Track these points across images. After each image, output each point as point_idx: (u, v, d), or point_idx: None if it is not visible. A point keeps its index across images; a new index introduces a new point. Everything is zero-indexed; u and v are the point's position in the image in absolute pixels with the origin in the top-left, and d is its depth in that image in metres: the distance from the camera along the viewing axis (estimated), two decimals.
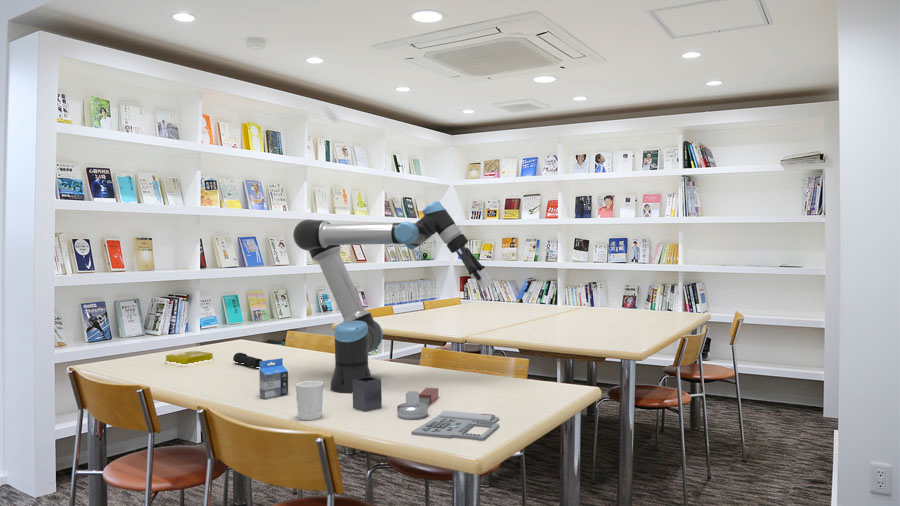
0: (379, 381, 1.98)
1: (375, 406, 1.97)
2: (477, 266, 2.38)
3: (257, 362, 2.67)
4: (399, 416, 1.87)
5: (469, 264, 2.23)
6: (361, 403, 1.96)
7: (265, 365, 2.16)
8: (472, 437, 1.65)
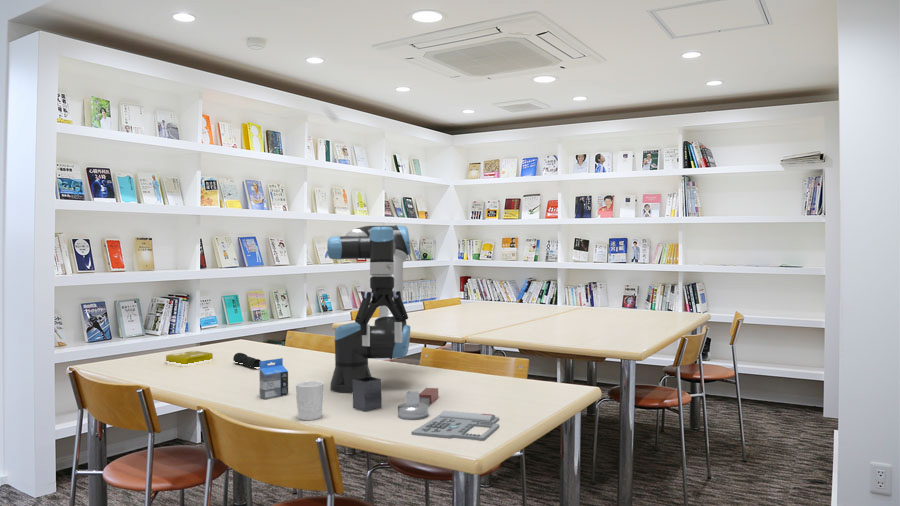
0: (379, 381, 1.98)
1: (375, 406, 1.97)
2: (396, 316, 2.04)
3: (255, 362, 2.66)
4: (399, 416, 1.87)
5: (360, 314, 1.92)
6: (361, 403, 1.96)
7: (265, 365, 2.16)
8: (472, 437, 1.65)
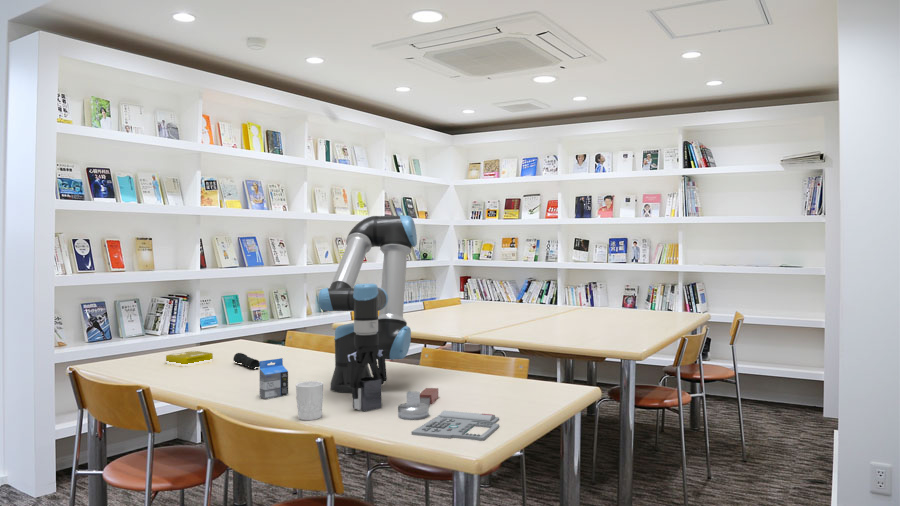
0: (379, 381, 1.98)
1: (375, 406, 1.97)
2: (375, 376, 2.01)
3: (253, 363, 2.65)
4: (400, 416, 1.87)
5: (349, 379, 1.94)
6: (361, 403, 1.96)
7: (265, 365, 2.16)
8: (472, 437, 1.65)
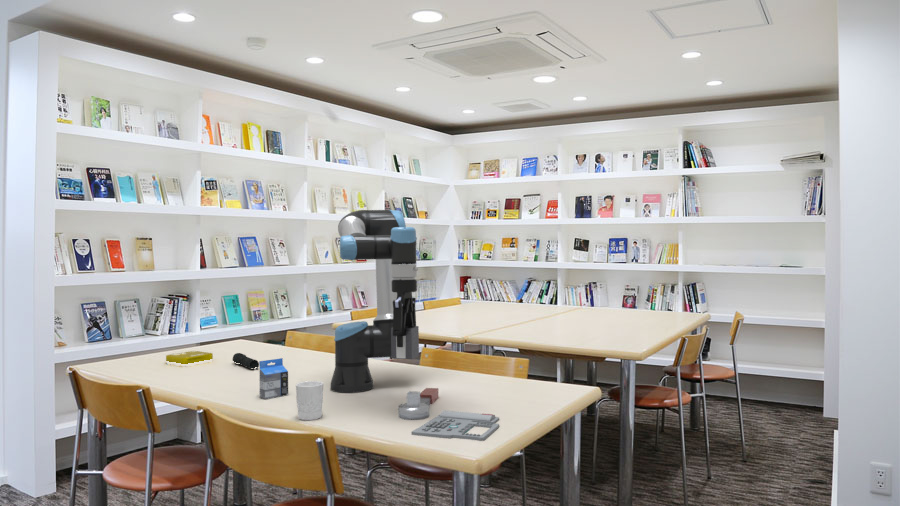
0: (417, 328, 1.91)
1: (416, 353, 1.90)
2: (409, 324, 1.93)
3: (252, 363, 2.65)
4: (400, 416, 1.86)
5: (398, 326, 1.83)
6: (406, 351, 1.86)
7: (265, 365, 2.16)
8: (472, 437, 1.65)
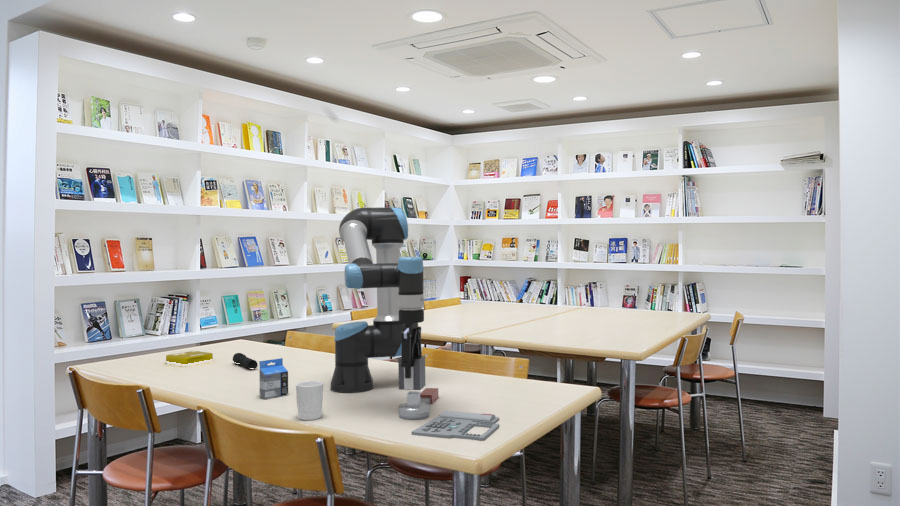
0: (424, 358, 1.91)
1: (423, 383, 1.89)
2: (415, 354, 1.92)
3: (251, 363, 2.65)
4: (401, 416, 1.86)
5: (406, 358, 1.82)
6: (414, 382, 1.86)
7: (265, 365, 2.16)
8: (472, 437, 1.65)
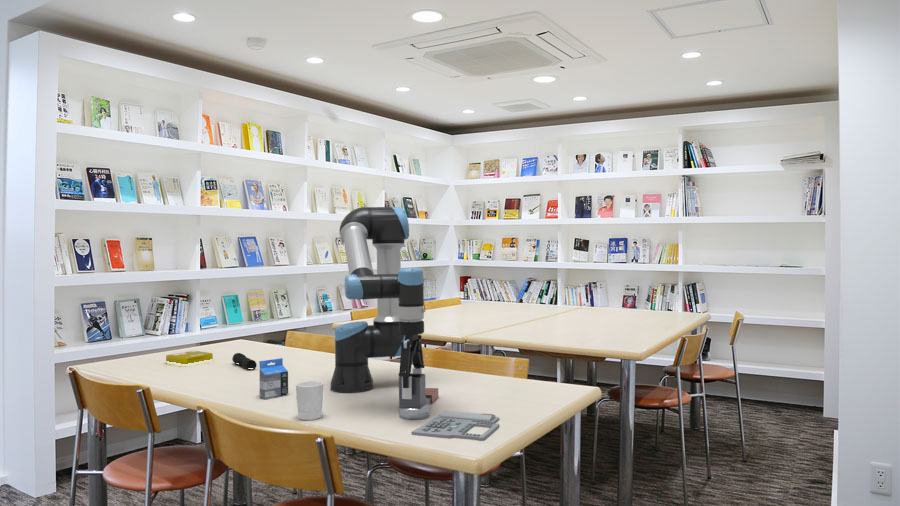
0: (424, 376, 1.91)
1: (423, 402, 1.89)
2: (417, 362, 1.94)
3: (250, 363, 2.64)
4: (401, 416, 1.86)
5: (405, 367, 1.81)
6: (414, 401, 1.86)
7: (265, 365, 2.16)
8: (472, 437, 1.65)
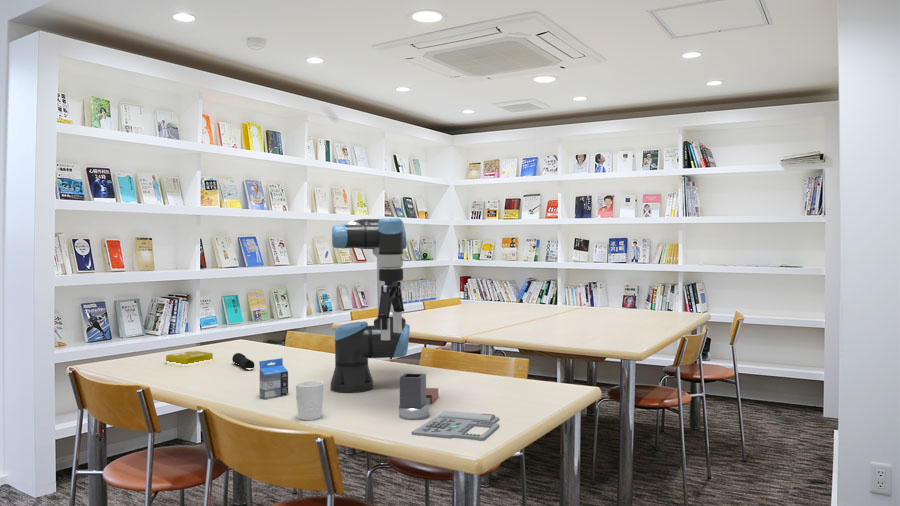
0: (425, 376, 1.91)
1: (424, 402, 1.89)
2: (397, 306, 2.04)
3: (248, 363, 2.64)
4: (401, 416, 1.86)
5: (384, 309, 1.89)
6: (415, 401, 1.86)
7: (265, 365, 2.16)
8: (472, 437, 1.65)
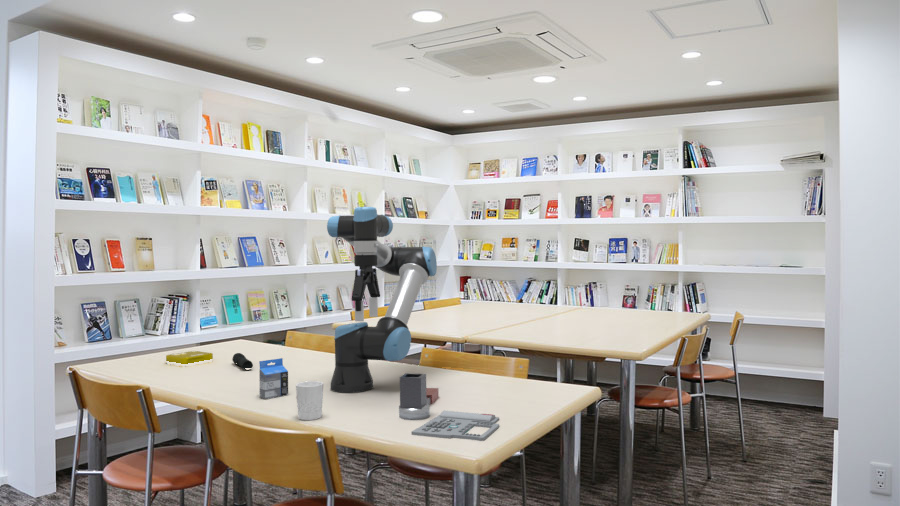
0: (425, 376, 1.91)
1: (424, 402, 1.89)
2: (372, 292, 2.15)
3: (246, 364, 2.63)
4: (401, 416, 1.86)
5: (357, 291, 2.00)
6: (415, 401, 1.86)
7: (265, 365, 2.16)
8: (472, 437, 1.65)
